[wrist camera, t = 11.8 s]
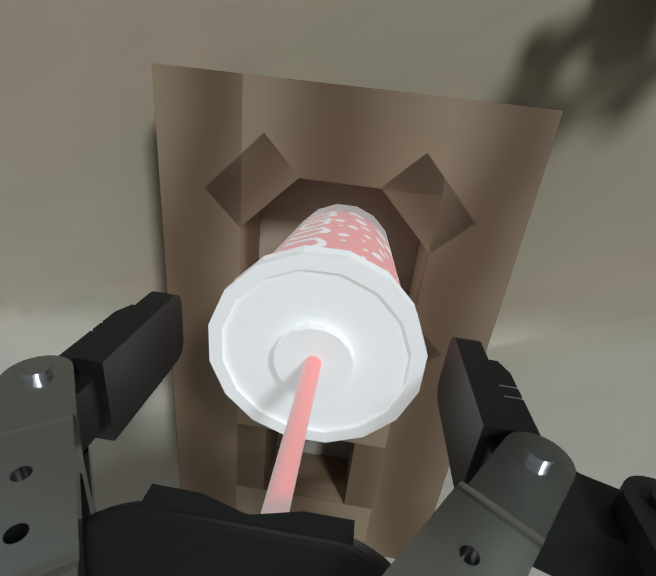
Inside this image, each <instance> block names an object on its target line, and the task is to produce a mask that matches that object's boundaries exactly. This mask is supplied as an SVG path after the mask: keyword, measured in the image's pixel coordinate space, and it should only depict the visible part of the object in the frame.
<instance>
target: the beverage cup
mask: <svg viewBox="0 0 656 576" xmlns="http://www.w3.org/2000/svg"><path fill="white" fill-rule="evenodd" d="M208 332H209V361H210V363H211V365H212V367H213V369H214V371H215V373H216V375H217V377H218V379H219V381H220V384H221V386H222V388H223V390H224V392H225V394H226V395H227V396H228V397H229V398H230V399H232V400H233V401H234V402H235V403H236V404H237V405H238V406H239V407H240V408H241V409H242V410H243V411H244V412H245V413H246V414H247V415H248V416H249V417H250V418H251V419H252V420H254V421H256V422H258V423H260V424H262V425H265V426H267V427H269V428H271V429H273V430H275V431H277V432H279V433H281V434H283V438H282V441H281V445H280V448H279V452H278V455H277V459H276V462H275V466H274V469H273V473H272V476H271V479H270V483H269V486H268V490H267V493H266V497H265V500H264V504H263V507H262V511H261V514H267V513H282V512H289V511H290V507H291V502H292V497H293V493H294V488H295V484H296V479H297V475H298V470H299V466H300V461H301V456H302V452H303V447H304V443H305V439H306V440H312V441H318V442H325V443H327V442H333V441H340V440H347V439H354V438H361V437H365V436H366V435H368V434H370V433H372V432H374V431H376V430H378V429H380V428H382V427H383V426H385V425H387V424H389V423H391V422H393V421H395V420H396V419H397V418H398V417H399V416H400V415H401V413H402V412H403V411H404V410H405V408H406V407H407V406H408V405H409V404H410V402H411V401H412V400H413V399H414V398H415V396H416V395H417V394H418V393H419V390H420V386H421V382H422V378H423V373H424V369H425V365H426V361H427V357H428V355H427V350H426V346H425V342H424V338H423V334H422V330H421V326H420V322H419V318H418V314H417V312H416V308H415V304H414V303H413V302H412V300H411V299H410V298H409V297H408V295H407V294H406V293H405V292H404V290H403V289H402V288H401V286H400V283H399V279H398V275H397V272H396V268H395V264H394V261H393V257H392V253H391V250H390V246H389V242H388V239H387V235H386V232H385V230H384V229H383V227H382V226H381V225H380V224H379V222H378V221H377V220H376V218H375V217H374V216H373V215H371V214H369V213H367V212H365V211H364V210H362V209H360V208H358V207H357V206H348V205H340V204H335V205H332V206H328V207H325V208H321V209H318V210H317V211H315V212H314V213H313V214H312V215H311V216H309V217H308V218H307V219H306V220H304V221H303V222H302V223H301V224H300V225H299V226H298V227H297V228H296V229H295V230H294V231H293V233H292V234H291V235H290V236H289V237H288V238H287V239H286V240H285V241H284V242H283V243H282V244H281V245H280V246H279V247H278V248H277V249H276V250H275V251H274V252H273V253H272V254H269V255H265V256H264V257H262V258H261V259H260V260H259V261H257V262H256V263H255V264H254V265H252V266H251V267H250V268H249V269H247V270H246V271H245V272H244V273H242V274H241V275H240V276H239V277H237V278H236V279H235V280H234V282H233V283H231V284H230V285H229V286H228V287H227V288H226V289H225V290H224V292H223V294H222V296H221V298H220V300H219V303H218V305H217V307H216V309H215V311H214V313H213V316H212V318H211V320H210V322H209V324H208Z"/></svg>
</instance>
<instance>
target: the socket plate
mask: <svg viewBox="0 0 656 576" xmlns="http://www.w3.org/2000/svg"><path fill="white" fill-rule="evenodd" d="M152 76H153V91H154V105H155V120H156V135H157V149H158V164H159V179H160V193H161V208H162V222H163V237H164V252H165V266H166V281H167V293H168V294H174V295H179V296H180V298H181V302H182V318H183V337H184V342H183V349H182V353H181V355H180V358H179V359H178V361H177V362H176V363H175V365H174V366H173V367H172V369H173V383H174V398H175V413H176V427H177V442H178V457H179V471H180V486H181V489H184V490H189V491H195V492H200V493H203V494H205V495H207V496H209V497H211V498H213V499H216V500H218V501H220V502H222V503H224V504H226V505H228V506H230V507H233V508H235V509H237V510H239V511H241V512H243V513H246V514H261V511H262V507H263V504H264V500H265V497H266V493H267V490H268V486H269V483H270V479H271V476H272V473H273V469H274V466H275V462H276V459H277V455H278V452H279V449H278V448H276V437H277V431H275V430H273V429H271V428H269V427H267V426H265V425H262V424H260V423H258V422H256V421H254V420H252V419H251V418H250V417H249V416H248V415H247V414H246V413H245V412H244V411H243V410H242V409H241V408H240V407H239V406H238V405H237V404H236V403H235V402H234V401H233V400H232V399H230V398H229V397H228V396H227V395H226V394H225V392H224V390H223V388H222V386H221V384H220V381H219V379H218V377H217V375H216V373H215V371H214V369H213V367H212V365H211V363H210V361H209V332H208V324H209V322H210V320H211V318H212V316H213V313H214V311H215V309H216V307H217V305H218V303H219V300H220V298H221V296H222V294H223V292H224V290H225V289H226V288H227V287H228V286H229V285H230V284H231V283H233V282H234V280H235V279H236V278H237V277H239V276H240V275H241V274H242V273H244V272H245V271H246V270H247V269H249V268H250V267H251V266H252V265H254V264H255V263H256V262H257V261H259V235H260V210H261V209H262V208H264V207H265V206H266V205H267V204H268V203H270V202H271V201H272V200H273V199H274V198H276V197H277V196H278V195H279V194H280V193H282V192H283V191H284V190H285V189H286V188H288V187H289V186H290V185H291V184H292V183H293V182H295V181H296V180H297V179H298V178H302V179H310V180H317V181H325V182H333V183H340V184H348V185H356V186H364V187H371V188H379V189H382V190H383V191H384V193H385V194H386V195H387V197H388V198H389V199H390V201H391V202H392V204H393V205H394V206H395V208H396V209H397V210H398V212H399V213H400V214H401V216H402V217H403V218H404V220H405V221H406V223H407V224H408V225H409V227H410V228H411V229H412V231H413V232H414V233H415V235H416V236H417V237H418V239H419V240H420V241H419V246H418V251H417V256H416V260H415V265H414V270H413V275H412V279H411V284H410V289H409V292H408V293H407V295H408V297H409V298H410V299H411V300H412V302H413V303H414V304H415V308H416V312H417V314H418V318H419V322H420V326H421V330H422V334H423V338H424V342H425V346H426V350H427V355H428V357H427V361H426V365H425V369H424V373H423V378H422V382H421V386H420V390H419V393H418V394H417V395H416V396H415V398H414V399H413V400H412V401H411V402H410V404H409V405H408V406H407V407H406V408H405V410H404V411H403V412H402V413H401V415H400V416H399V417H398V418H397V419H396V420H395V421H393V422H391V423H389V424H387V425H385V426H383V427H382V428H380V429H378V430H376V431H374V432H372V433H370V434H368V435H366V436H365V437H361V438H354V439H347V440H340V441H346V442H351V446H350V452H349V457H348V460H342V459H336V458H330V457H325V456H319V455H313V454H307V453H302V456H301V461H300V466H299V470H298V475H297V479H296V484H295V488H294V493H293V497H292V502H291V507H290V511H289V512H298V511H306V512H312V513H317V514H323V515H328V516H334V517H339V518H345V519H350V520H355V525H354V539H357V540H359V541H361V542H363V543H364V544H366V545H368V546H369V547H371V548H373V549H374V550H375V551H377V552H378V553H379V554H380V555H382V556H383V557H389V558H394V559H396V558H397V557H398V556H399V554H400V553H401V552H402V551H403V550H404V548H405V547H406V546H407V545H408V543H409V542H410V541H411V540H412V539H413V537H414V536H415V535H416V534H417V533H418V531H419V530H420V529H421V528H422V527H423V525H424V524H425V523H426V522H427V521H428V519H429V518H430V517H431V516H432V514H433V513H434V511H435V508H436V505H437V502H438V499H439V496H440V493H441V490H442V486H443V483H444V480H445V477H446V474H447V471H448V468H449V465H450V464H449V459H448V454H447V449H446V443H445V438H444V433H443V428H442V423H441V418H440V413H439V407H438V402H437V391H438V383H439V379H440V375H441V372H442V368H443V364H444V361H445V357H446V354H447V350H448V346H449V343H450V340H451V339H452V338H453V337H457V338H463V339H470V340H477V341H480V342H481V343H482V346H483V348H484V350H485V353H486V350H487V347H488V344H489V341H490V338H491V334H492V331H493V328H494V325H495V322H496V319H497V316H498V313H499V310H500V306H501V303H502V300H503V297H504V294H505V291H506V288H507V285H508V282H509V279H510V275H511V272H512V269H513V266H514V263H515V260H516V257H517V254H518V251H519V248H520V244H521V241H522V238H523V235H524V232H525V229H526V226H527V223H528V220H529V217H530V213H531V210H532V207H533V204H534V201H535V198H536V195H537V192H538V189H539V185H540V182H541V179H542V176H543V173H544V170H545V167H546V164H547V161H548V158H549V154H550V151H551V148H552V145H553V142H554V139H555V136H556V133H557V130H558V127H559V123H560V120H561V117H562V114H563V110H555V109H546V108H537V107H529V106H520V105H511V104H502V103H494V102H485V101H476V100H468V99H459V98H450V97H441V96H433V95H424V94H415V93H407V92H398V91H389V90H380V89H372V88H363V87H354V86H346V85H337V84H328V83H319V82H311V81H302V80H293V79H285V78H276V77H267V76H259V75H250V74H241V73H232V72H224V71H215V70H206V69H198V68H189V67H180V66H171V65H163V64H154V63H152Z"/></svg>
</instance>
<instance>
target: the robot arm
mask: <svg viewBox="0 0 656 576" xmlns="http://www.w3.org/2000/svg"><path fill="white" fill-rule="evenodd" d="M183 342H184V337H183V318H182V302H181V298H180V296H179V295H174V294H168V293H161V292H154V291H153V292H151V293H149V294H148V295H147V296H146V297H144V298H143V299H142V300H141V301H139V302H138V303H137V304H136V305H130V306H128V307H125V308H123V309H120V310H118V311H116V312H114V313H113V314H111V315H110V316H109V317H108V318H106V319H105V320H104V321H103V323H100V324H99V325H97V326H96V327H95V328H94V329H93V331H90V332H88V333H87V334H86V335H85V336H83V337H82V338H81V339H80V340H78V341H77V342H76V343H74V344H73V345H72V346H71V347H69V348H68V349H67V350H66V351H64V352H63V353H62V354H60V355H59V356H52V355H49V356H39V357H34V358H30V359H27V360H24V361H21V362H19V363H17V364H15V365H13V366H11V367H9V368H8V369H7V370H5V371H4V372H3V373H2V374H1V375H0V576H528V574H529V572H530V570H531V568H532V567H535V568H537V569H539V570H541V571H543V572H545V573H547V574H549V575H551V576H656V479H653V478H649V477H645V476H631V477H629V478H627V479H626V480H625V481H624V482H623V484H622V486H621V487H620V489H617V488H614V487H612V486H609V485H607V484H604V483H602V482H599V481H597V480H594V479H592V478H589V477H587V476H584V475H582V474H580V473H578V472H576V469H575V466H574V463H573V461H572V460H571V458H570V457H569V456H568V455H567V454H566V452H565V451H564V450H562V449H561V448H560V447H559V446H558V445H556V444H555V443H553V442H552V441H550V440H548V439H546V438H544V437H542V436H541V435H540V433H539V431H538V429H537V427H536V425H535V423H534V421H533V419H532V417H531V415H530V413H529V411H528V409H527V407H526V404H525V402H524V400H522V396H521V394H520V392H519V390H518V389H517V386H516V384H515V382H514V380H513V378H512V376H511V374H510V373H509V372H508V371H507V370H506V369H505V368H504V367H503V366H502V365H501V364H500V363H499V362H498V361H493V360H488V357H487V355H486V353H485V350H484V348H483V346H482V343H481V342H480V341H477V340H470V339H463V338H457V337H453V338H452V339H451V340H450V343H449V346H448V350H447V354H446V357H445V361H444V364H443V368H442V372H441V375H440V379H439V383H438V391H437V402H438V407H439V413H440V418H441V423H442V428H443V433H444V438H445V443H446V449H447V454H448V459H449V464H450V469H451V474H452V480H453V485H454V489H453V490H452V492H451V493H450V494H449V495H448V496H447V498H446V499H445V500H444V501H443V502H442V504H441V505H440V506H439V507H438V508H437V510H436V511H435V512H434V513H433V514H432V516H431V517H430V518H429V519H428V521H427V522H426V523H425V524H424V525H423V527H422V528H421V529H420V530H419V531H418V533H417V534H416V535H415V536H414V537H413V539H412V540H411V541H410V542H409V543H408V545H407V546H406V547H405V548H404V550H403V551H402V552H401V553H400V554H399V556H398V557H397V558H396V559H395V560H394V562H393V563H392V564H391V563H390V562H389V561H388V560H386V559H385V558H384V557H383V556H382V555H380V554H379V553H378V552H377V551H375V550H374V549H373V548H371V547H369V546H368V545H366V544H364V543H363V542H361V541H359V540H357V539H354V525H355V520H350V519H345V518H339V517H334V516H328V515H323V514H317V513H312V512H306V511H298V512H282V513H267V514H246V513H243V512H241V511H239V510H237V509H235V508H233V507H230V506H228V505H226V504H224V503H222V502H220V501H218V500H216V499H213V498H211V497H209V496H207V495H205V494H203V493H200V492H195V491H189V490H184V489H178V488H172V487H167V486H161V485H156V484H152V485H151V487H150V489H149V490H148V492H147V494H146V495H145V497H144V499H143V500H142V501H135V502H129V503H124V504H120V505H116V506H113V507H109V508H107V509H104V510H101V511H98V512H96V511H95V500H94V489H93V477H92V466H91V455H90V449H89V445H90V444H91V442H92V441H93V440H94V439H95V438H101V439H107V440H113V441H115V440H116V438H117V437H118V436H119V435H120V433H121V432H122V431H123V430H124V428H125V427H126V426H127V425H128V423H129V422H130V421H131V419H132V418H133V417H134V416H135V414H136V413H137V412H138V411H139V409H140V408H141V407H142V405H143V404H144V403H145V402H146V400H147V399H148V398H149V397H150V395H151V394H152V393H153V391H154V390H155V389H156V388H157V386H158V385H159V384H160V383H161V381H162V380H163V379H164V377H165V376H166V375H167V374H168V372H169V371H170V370H171V369H172V367H173V366H174V365H175V363H176V362H177V361H178V359H179V358H180V355H181V353H182V349H183Z"/></svg>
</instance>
